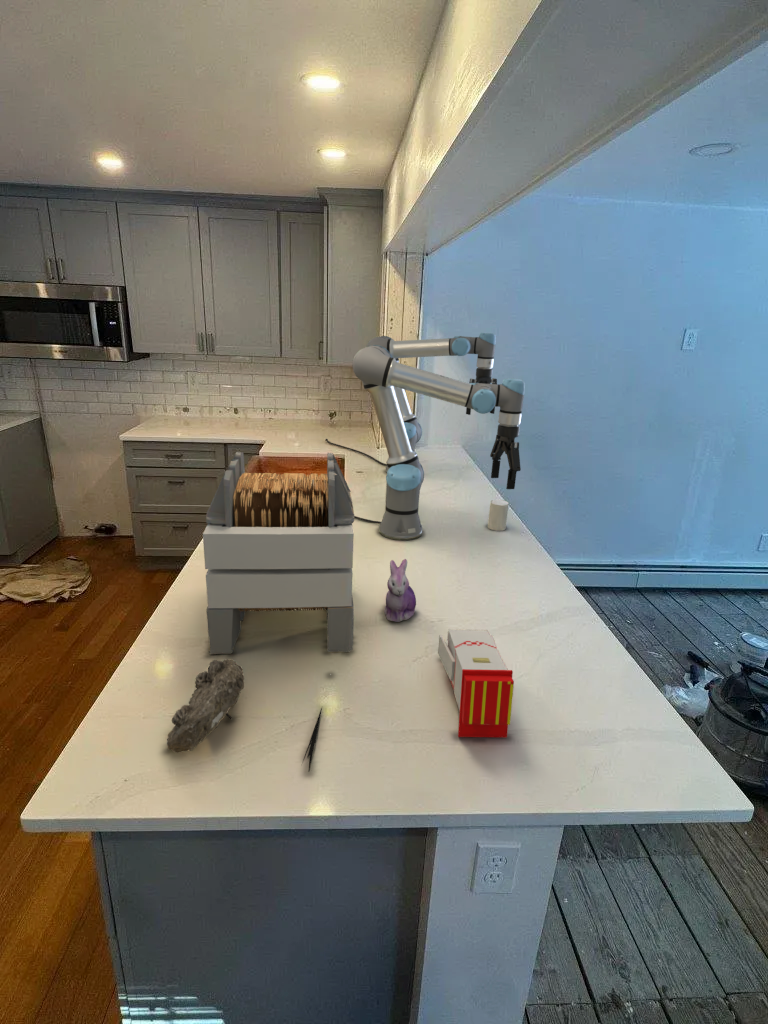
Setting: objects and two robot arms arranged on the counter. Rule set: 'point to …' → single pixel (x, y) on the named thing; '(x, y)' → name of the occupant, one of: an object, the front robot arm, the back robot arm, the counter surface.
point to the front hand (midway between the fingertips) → (502, 483)
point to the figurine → (399, 594)
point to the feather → (313, 740)
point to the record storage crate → (279, 550)
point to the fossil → (206, 705)
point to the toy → (478, 682)
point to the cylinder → (498, 515)
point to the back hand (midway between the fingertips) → (480, 413)
